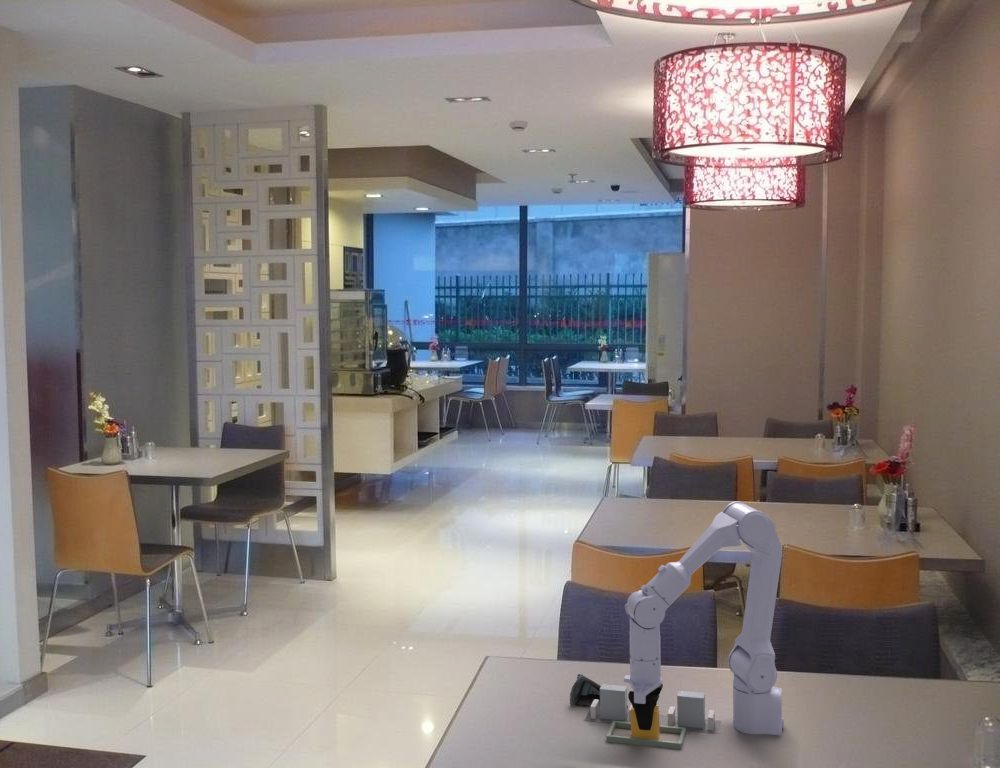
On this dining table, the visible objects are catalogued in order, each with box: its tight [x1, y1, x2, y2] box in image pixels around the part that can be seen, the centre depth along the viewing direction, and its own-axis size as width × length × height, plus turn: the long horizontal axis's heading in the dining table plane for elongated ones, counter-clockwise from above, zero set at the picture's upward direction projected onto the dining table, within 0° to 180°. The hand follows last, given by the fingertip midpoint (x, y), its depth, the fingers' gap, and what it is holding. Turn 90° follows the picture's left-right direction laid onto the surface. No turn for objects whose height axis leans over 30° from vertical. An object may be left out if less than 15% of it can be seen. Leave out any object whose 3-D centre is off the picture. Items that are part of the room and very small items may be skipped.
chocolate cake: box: [569, 673, 629, 711], centre depth 210 cm, size 10×7×12 cm
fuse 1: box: [599, 683, 629, 721], centre depth 201 cm, size 5×3×6 cm, turn 73°
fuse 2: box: [676, 690, 706, 728], centre depth 197 cm, size 5×3×6 cm, turn 73°
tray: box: [605, 721, 687, 750], centre depth 192 cm, size 14×7×2 cm, turn 73°
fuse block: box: [583, 698, 722, 735], centre depth 199 cm, size 26×6×4 cm, turn 73°
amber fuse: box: [630, 705, 661, 740], centre depth 192 cm, size 5×3×6 cm, turn 73°
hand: (646, 725), depth 192 cm, fingers closed on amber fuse, 2 cm apart
